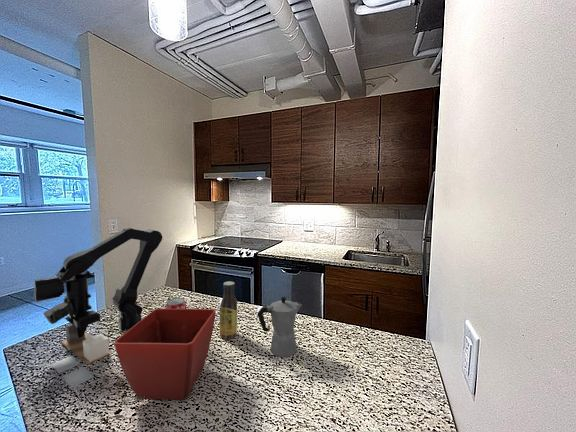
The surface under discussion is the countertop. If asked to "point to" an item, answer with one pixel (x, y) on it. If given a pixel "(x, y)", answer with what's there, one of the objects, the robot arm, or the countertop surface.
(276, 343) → the coffeepot
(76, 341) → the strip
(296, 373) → the countertop surface
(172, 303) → the soda can
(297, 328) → the countertop surface
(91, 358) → the cube
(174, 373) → the plant pot
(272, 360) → the countertop surface
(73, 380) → the broken strip
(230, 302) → the sauce bottle
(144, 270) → the robot arm
